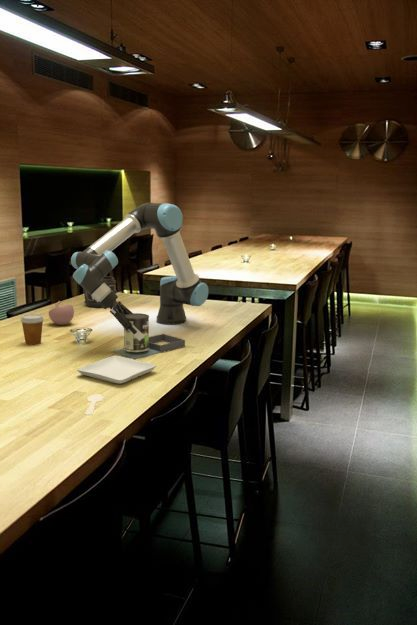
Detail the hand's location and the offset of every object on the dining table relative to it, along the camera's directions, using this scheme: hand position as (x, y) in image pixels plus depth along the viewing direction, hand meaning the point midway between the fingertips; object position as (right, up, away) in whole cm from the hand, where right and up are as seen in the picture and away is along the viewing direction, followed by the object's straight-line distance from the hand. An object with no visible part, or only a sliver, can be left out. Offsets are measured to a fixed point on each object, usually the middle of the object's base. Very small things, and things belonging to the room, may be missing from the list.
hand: (143, 335), depth 248 cm
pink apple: (-45, +3, +46) cm, 65 cm away
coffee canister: (-34, +13, +93) cm, 100 cm away
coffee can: (-3, -6, +1) cm, 7 cm away
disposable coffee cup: (-49, -4, +12) cm, 50 cm away
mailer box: (+2, -6, +7) cm, 9 cm away
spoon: (-10, -20, -57) cm, 61 cm away
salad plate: (-7, -14, -27) cm, 31 cm away
